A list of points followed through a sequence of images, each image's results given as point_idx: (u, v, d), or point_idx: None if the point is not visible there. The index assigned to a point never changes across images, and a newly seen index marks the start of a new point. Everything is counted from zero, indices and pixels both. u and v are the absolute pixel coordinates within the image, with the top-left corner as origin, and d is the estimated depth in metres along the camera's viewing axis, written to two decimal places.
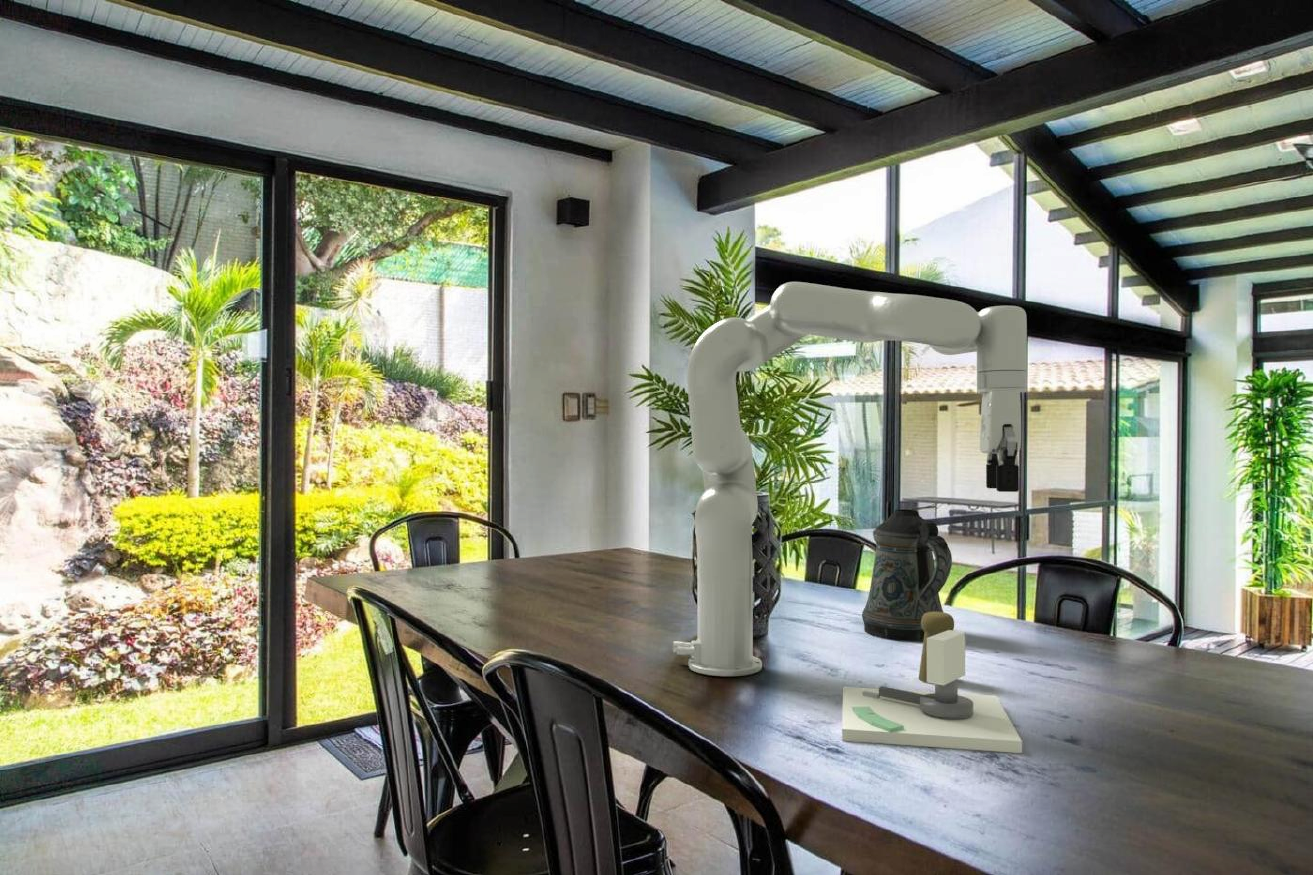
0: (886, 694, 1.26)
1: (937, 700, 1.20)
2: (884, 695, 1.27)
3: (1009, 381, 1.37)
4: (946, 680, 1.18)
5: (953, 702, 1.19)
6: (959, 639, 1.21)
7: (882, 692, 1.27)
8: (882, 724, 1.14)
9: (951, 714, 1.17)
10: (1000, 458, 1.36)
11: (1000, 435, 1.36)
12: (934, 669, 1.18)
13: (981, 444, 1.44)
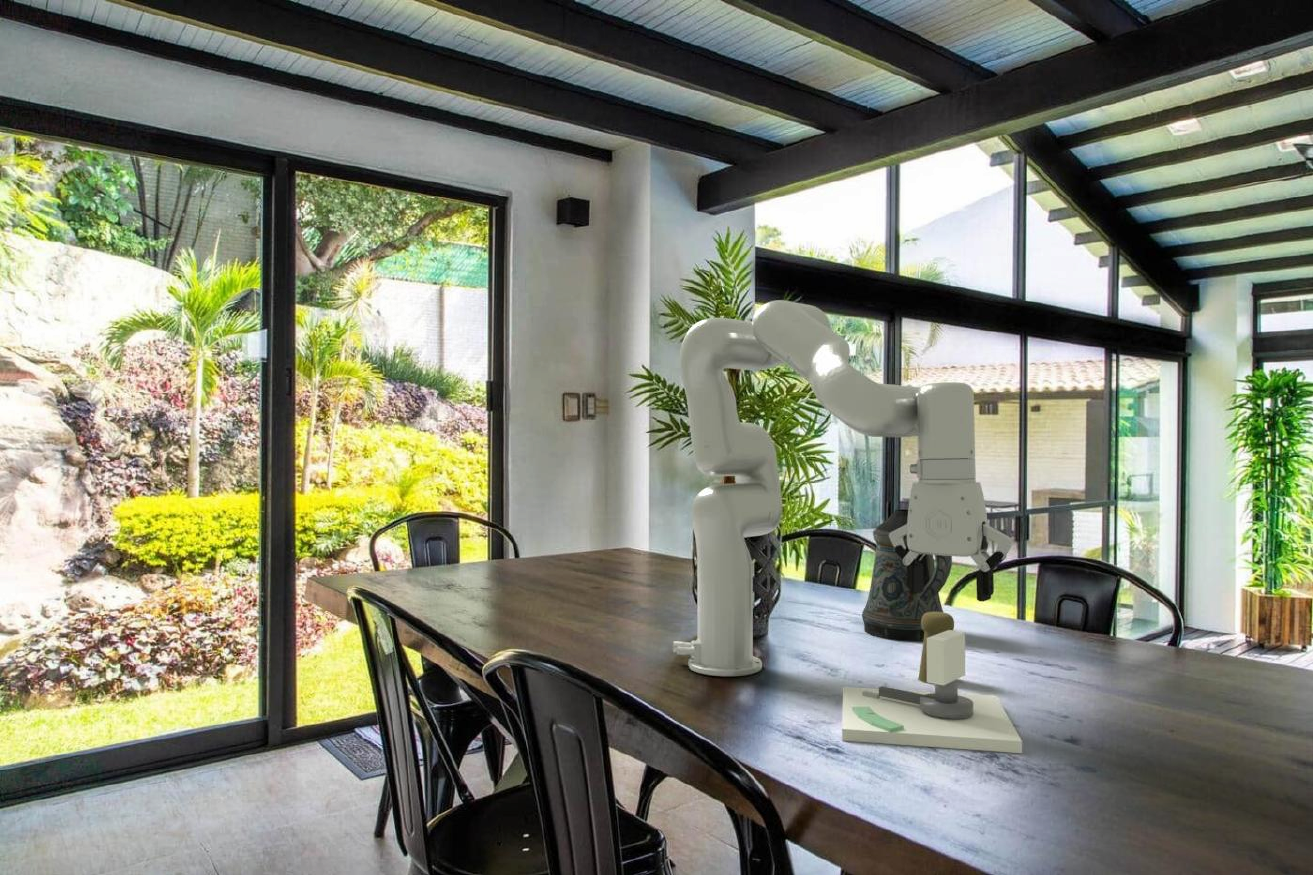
0: (886, 694, 1.26)
1: (937, 700, 1.20)
2: (884, 695, 1.27)
3: (974, 471, 1.19)
4: (946, 680, 1.18)
5: (953, 702, 1.19)
6: (959, 639, 1.21)
7: (882, 692, 1.27)
8: (882, 724, 1.14)
9: (951, 714, 1.17)
10: (987, 562, 1.16)
11: (981, 535, 1.16)
12: (934, 669, 1.18)
13: (925, 544, 1.20)
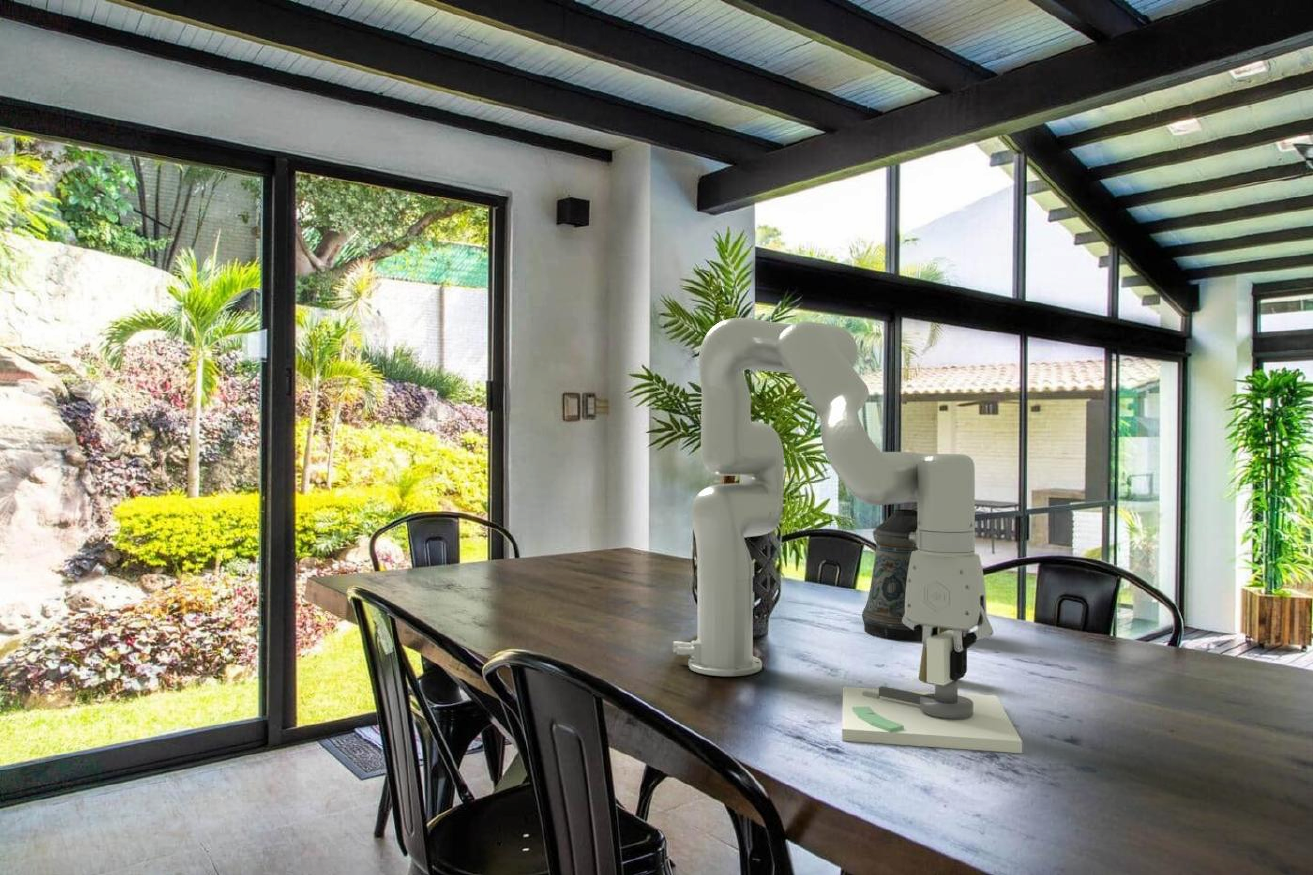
0: (886, 694, 1.26)
1: (937, 700, 1.20)
2: (884, 695, 1.27)
3: (973, 544, 1.19)
4: (946, 680, 1.18)
5: (953, 702, 1.19)
6: None
7: (882, 692, 1.27)
8: (882, 724, 1.14)
9: (951, 714, 1.17)
10: (962, 645, 1.18)
11: (979, 609, 1.17)
12: (934, 669, 1.18)
13: (923, 615, 1.20)
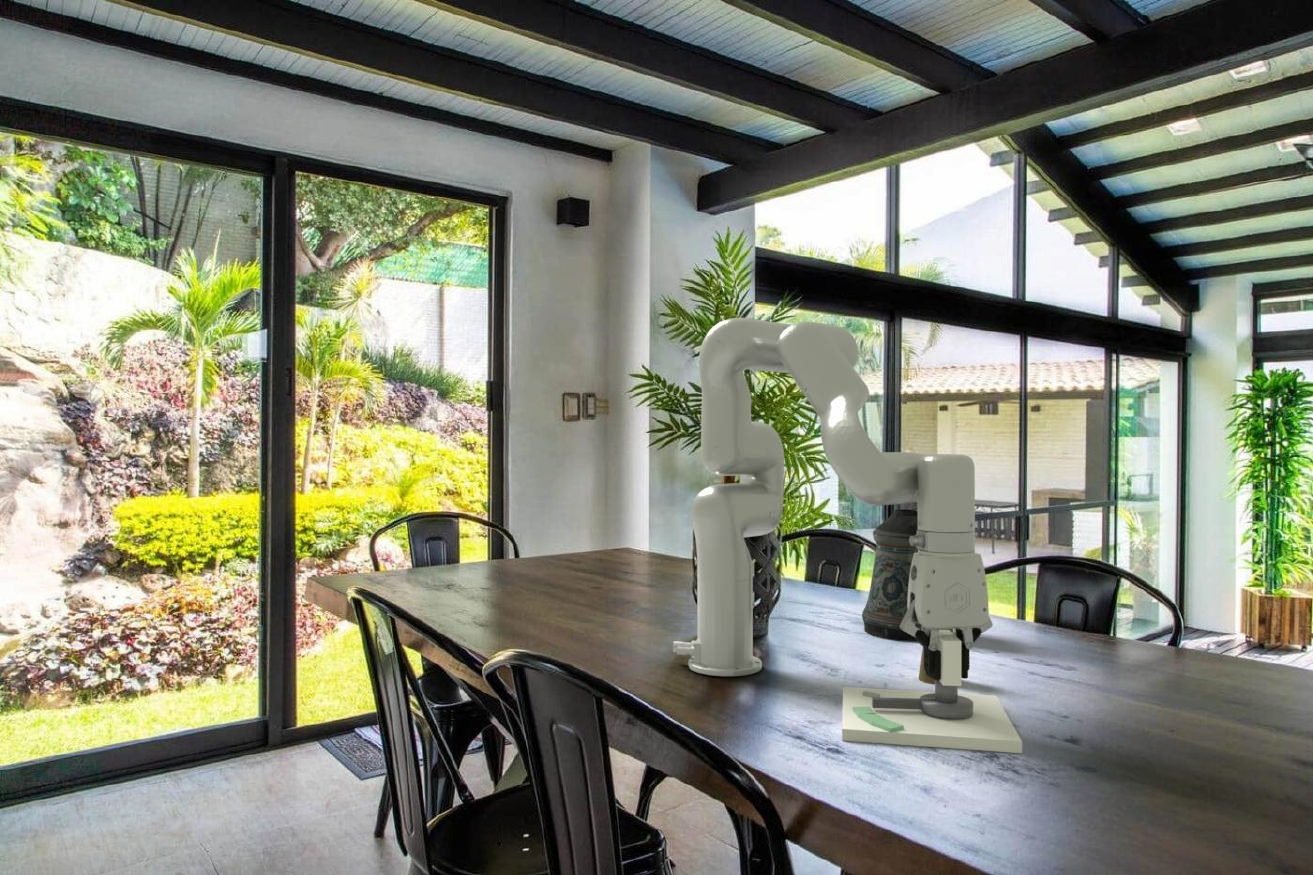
0: (882, 705, 1.21)
1: (943, 702, 1.20)
2: (879, 706, 1.21)
3: None
4: None
5: (957, 701, 1.20)
6: None
7: (877, 703, 1.21)
8: (882, 724, 1.14)
9: (966, 713, 1.18)
10: (972, 641, 1.20)
11: None
12: (951, 671, 1.17)
13: (943, 619, 1.18)
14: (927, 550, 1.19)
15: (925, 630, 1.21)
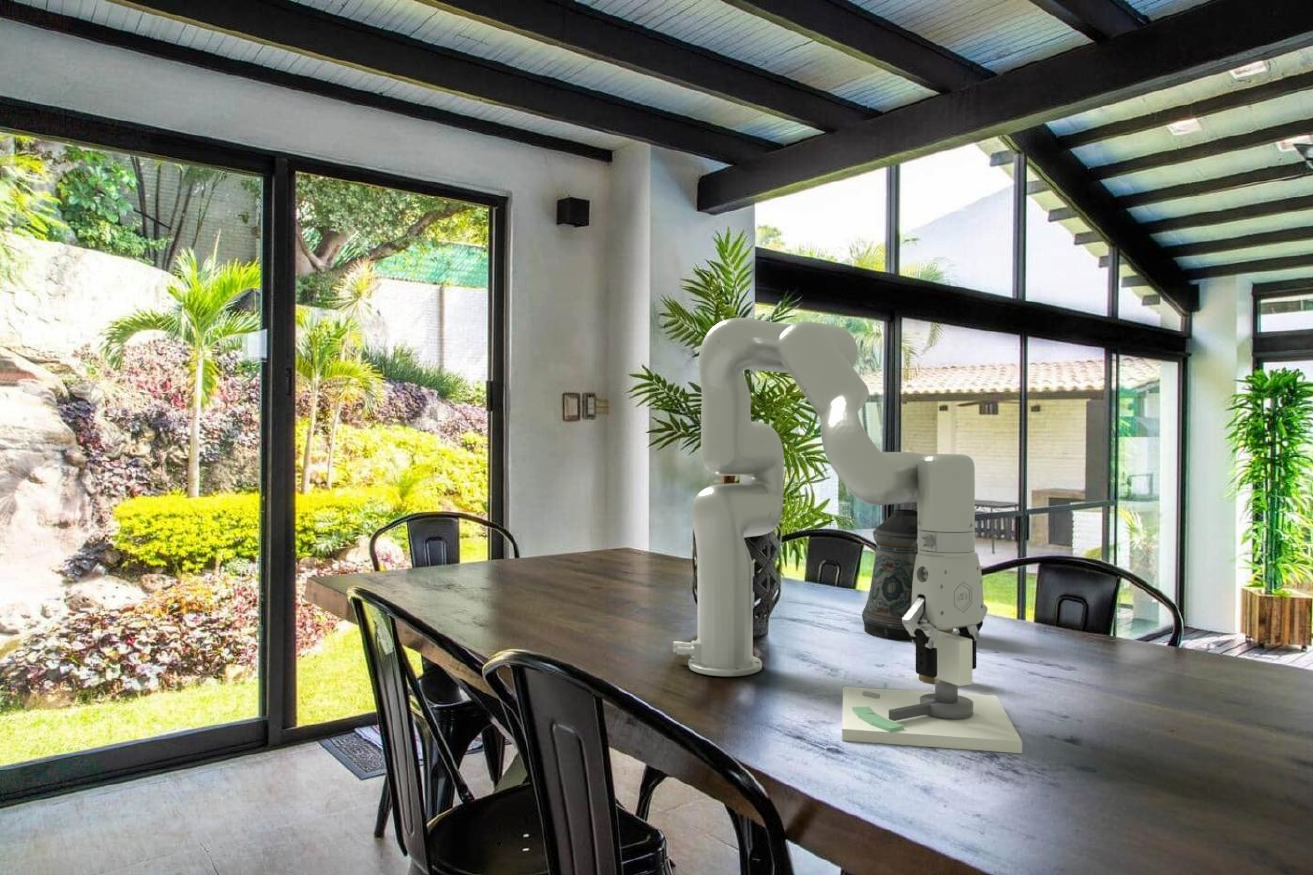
0: (900, 716, 1.16)
1: (950, 702, 1.19)
2: (899, 718, 1.16)
3: None
4: None
5: None
6: None
7: (897, 715, 1.16)
8: (882, 724, 1.14)
9: None
10: (977, 631, 1.23)
11: None
12: (965, 670, 1.18)
13: (953, 619, 1.17)
14: (937, 551, 1.18)
15: (921, 628, 1.19)
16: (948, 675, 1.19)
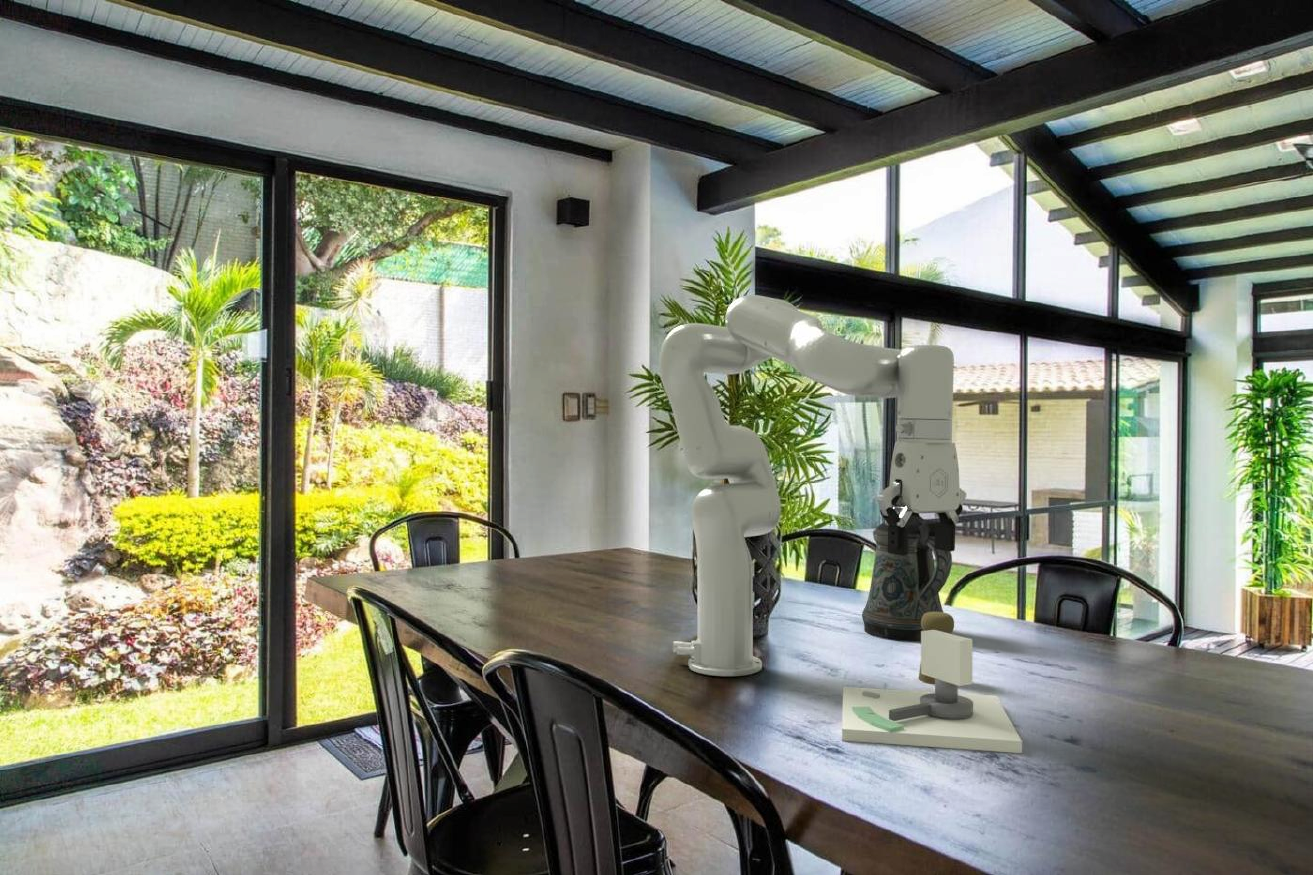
0: (901, 716, 1.16)
1: (950, 702, 1.19)
2: (899, 718, 1.16)
3: None
4: None
5: None
6: None
7: (897, 716, 1.16)
8: (882, 724, 1.14)
9: None
10: (956, 515, 1.27)
11: None
12: (965, 670, 1.18)
13: (928, 503, 1.21)
14: (914, 437, 1.22)
15: (895, 510, 1.23)
16: (948, 675, 1.19)
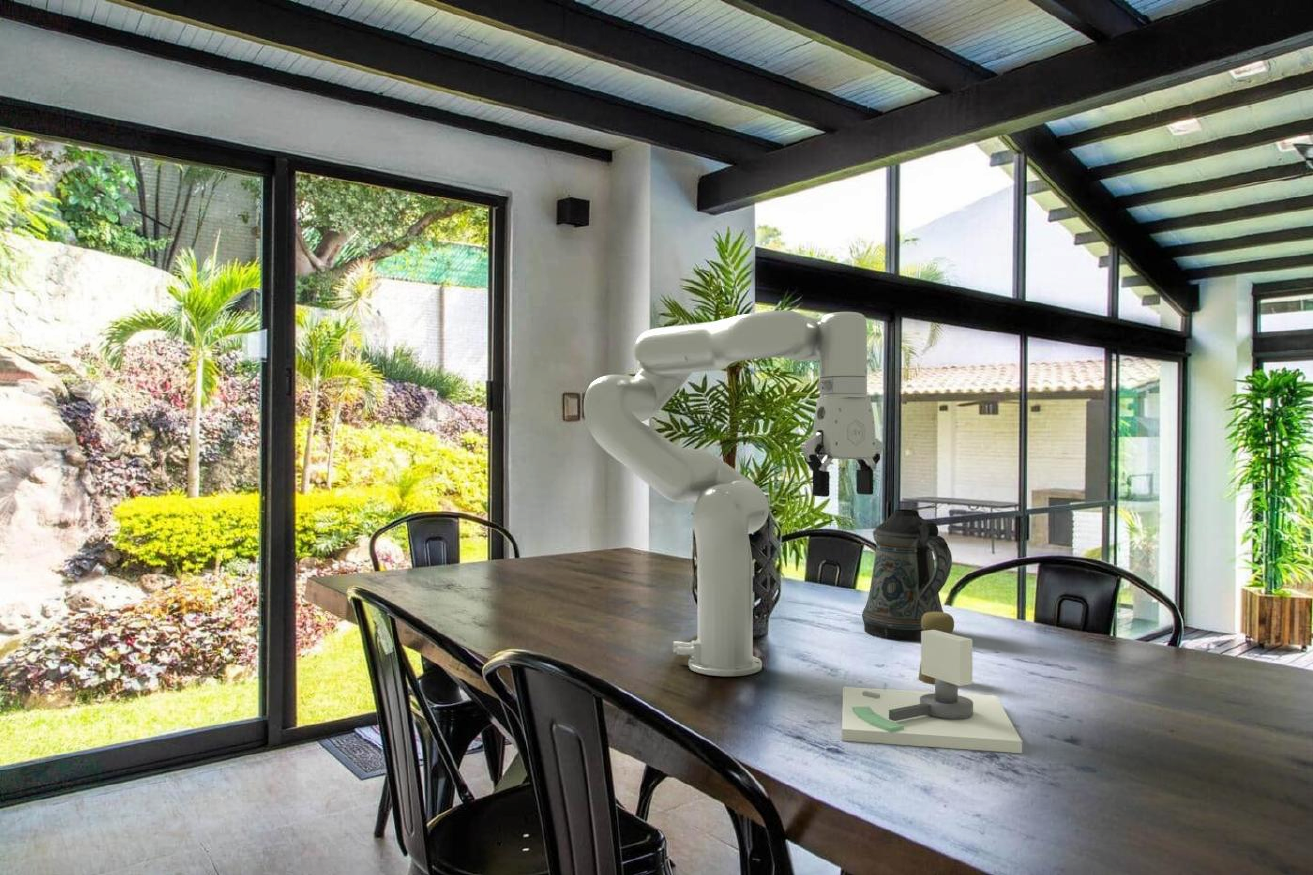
0: (901, 716, 1.16)
1: (950, 702, 1.19)
2: (899, 718, 1.16)
3: None
4: None
5: None
6: None
7: (897, 716, 1.16)
8: (882, 724, 1.14)
9: None
10: (874, 462, 1.44)
11: None
12: (965, 670, 1.18)
13: (846, 450, 1.38)
14: (833, 392, 1.39)
15: (818, 458, 1.40)
16: (948, 675, 1.19)
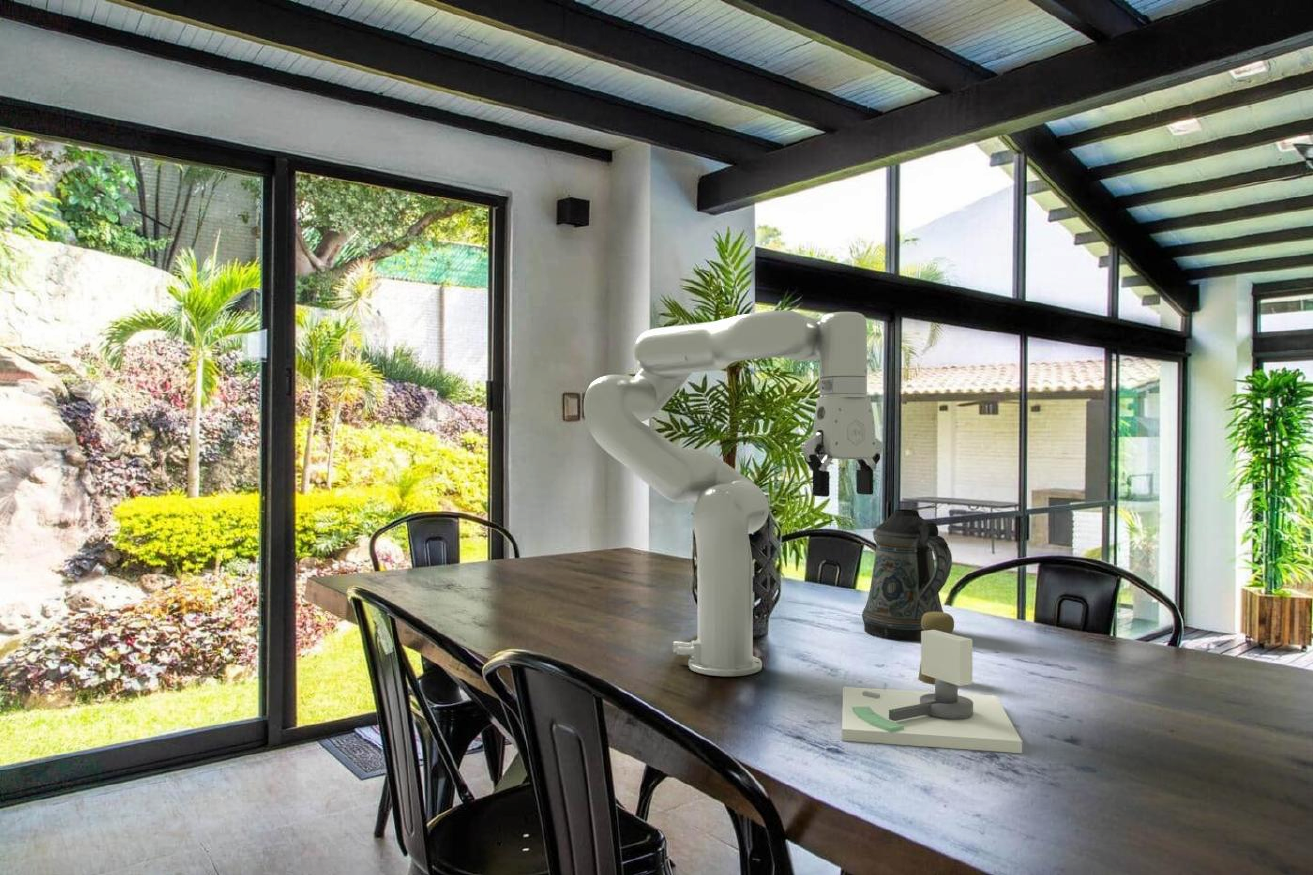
0: (901, 716, 1.16)
1: (950, 702, 1.19)
2: (899, 718, 1.16)
3: None
4: None
5: None
6: None
7: (897, 716, 1.16)
8: (882, 724, 1.14)
9: None
10: (874, 462, 1.44)
11: None
12: (965, 670, 1.18)
13: (846, 450, 1.38)
14: (833, 392, 1.39)
15: (818, 458, 1.40)
16: (948, 675, 1.19)
